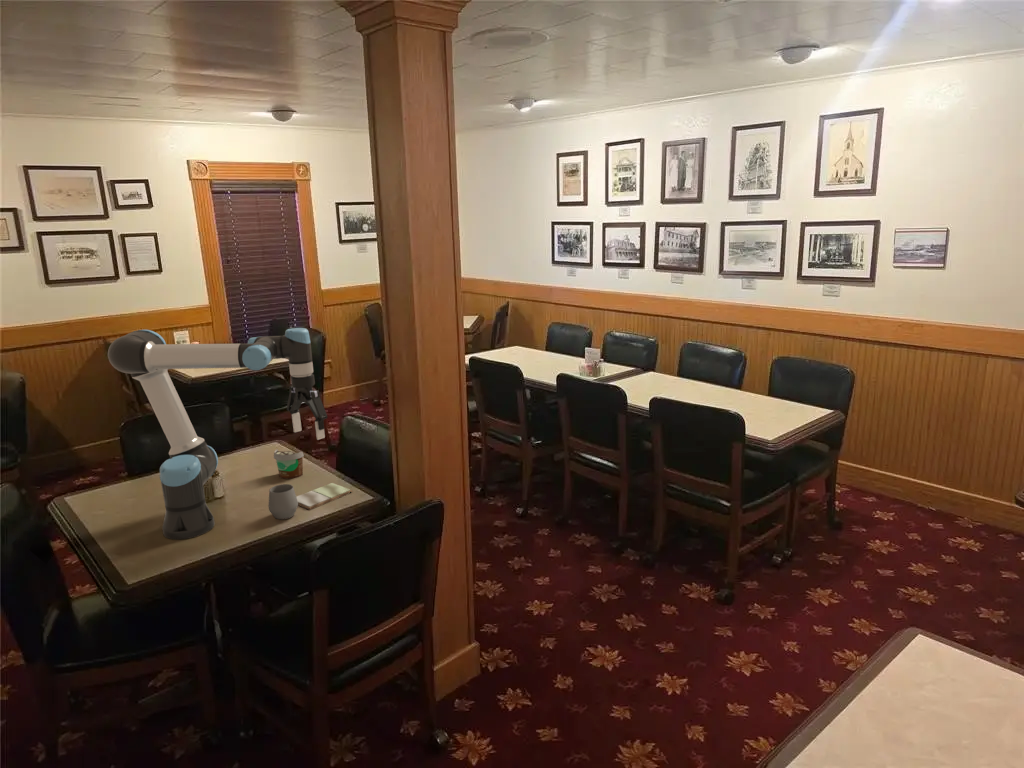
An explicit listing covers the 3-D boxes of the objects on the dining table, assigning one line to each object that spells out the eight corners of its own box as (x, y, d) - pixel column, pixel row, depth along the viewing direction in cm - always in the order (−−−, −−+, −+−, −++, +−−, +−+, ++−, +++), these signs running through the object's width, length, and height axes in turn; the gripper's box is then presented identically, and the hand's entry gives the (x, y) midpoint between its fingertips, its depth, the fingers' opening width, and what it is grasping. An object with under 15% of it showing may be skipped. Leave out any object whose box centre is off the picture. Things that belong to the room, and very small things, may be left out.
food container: (269, 478, 256) (266, 454, 254) (278, 472, 262) (276, 448, 260) (296, 481, 253) (294, 456, 250) (306, 475, 259) (303, 451, 256)
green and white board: (310, 509, 228) (309, 506, 227) (289, 501, 235) (289, 498, 235) (352, 492, 241) (352, 489, 241) (331, 485, 249) (331, 482, 248)
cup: (303, 510, 228) (300, 483, 225) (292, 522, 219) (289, 494, 216) (277, 509, 228) (274, 482, 226) (264, 521, 219) (261, 493, 217)
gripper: (334, 376, 217) (340, 438, 222) (291, 368, 232) (297, 425, 238) (314, 381, 211) (321, 444, 217) (271, 372, 227) (279, 431, 232)
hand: (309, 434), depth 227 cm, fingers open, 13 cm apart
